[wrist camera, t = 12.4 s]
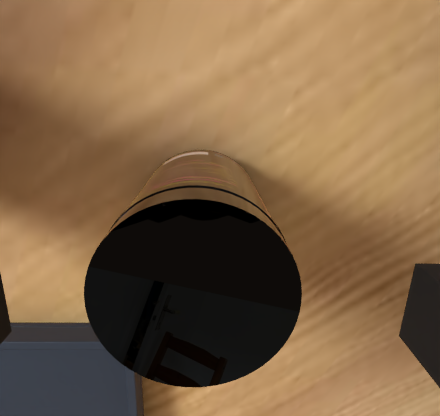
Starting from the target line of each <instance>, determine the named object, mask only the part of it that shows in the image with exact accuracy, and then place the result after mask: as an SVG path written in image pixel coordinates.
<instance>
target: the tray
mask: <svg viewBox="0 0 440 416" xmlns="http://www.w3.org/2000/svg"><path fill="white" fill-rule="evenodd" d="M10 325H11V330H12V332H11V333H10V334H9V335H8V336H7V337H6V339H5V340H4V341H3V342H2V343H1V344H0V416H144V409H143V392H142V376H141V375H139V374H137V373H135V372H133V371H132V370H130V369H128V368H127V367H125V366H124V365H122V364H121V363H120V362H119V361H117V360H116V359H115V358H114V357H113V356H112V355H111V354H110V353H109V352H108V351H107V350H106V349H105V347H104V346H103V345H102V344H101V342H100V341H99V339H98V338H97V336H96V335H95V333H94V331H93V329H92V327H91V324H90V323H10Z"/></svg>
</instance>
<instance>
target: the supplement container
mask: <svg viewBox="0 0 440 416" xmlns="http://www.w3.org/2000/svg"><path fill="white" fill-rule="evenodd" d="M301 297H302V290H301V280H300V275H299V271H298V268H297V265H296V262H295V260H294V258H293V255H292V254H291V252H290V250H289V248H288V246H287V244H286V241H285V239H284V237H283V235H282V233H281V231H280V230H279V228H278V226H277V225H276V223H275V222H274V221H273V219H272V218H271V216H270V214H269V212H268V210H267V209H266V207H265V205H264V203H263V201H262V199H261V197H260V195H259V193H258V192H257V190H256V188H255V186H254V184H253V182H252V180H251V178H250V177H249V175H248V174H247V172H246V171H245V170H244V169H243V168H242V167H241V166H240V165H239V164H238V163H237V162H236V161H234V160H233V159H231V158H229V157H228V156H226V155H223V154H221V153H218V152H214V151H210V150H191V151H186V152H183V153H180V154H177V155H175V156H173V157H171V158H170V159H168V160H167V161H165V162H164V163H163V164H162V165H160V166H159V167H158V169H157V170H156V171H155V172H154V174H153V175H152V176H151V178H150V179H149V180H148V182H147V183H146V184H145V186H144V187H143V188H142V190H141V191H140V192H139V194H138V195H137V196H136V198H135V199H134V201H133V202H132V203H131V205H130V206H129V207H128V209H127V210H125V211H124V212H123V213H122V215H121V216H120V217H119V218H118V219H117V220H116V222H115V223H114V224H113V226H112V227H111V229H110V230H109V232H108V234H107V235H106V237H105V238H104V239H103V241H102V242H101V243H100V245H99V246H98V248H97V249H96V251H95V253H94V255H93V257H92V259H91V261H90V264H89V267H88V270H87V274H86V278H85V286H84V299H85V307H86V312H87V316H88V319H89V322H90V324H91V327H92V329H93V331H94V333H95V335H96V336H97V338H98V339H99V341H100V342H101V344H102V345H103V346H104V347H105V349H106V350H107V351H108V352H109V353H110V354H111V355H112V356H113V357H114V358H115V359H116V360H117V361H119V362H120V363H121V364H122V365H124V366H125V367H127V368H128V369H130V370H132V371H133V372H135V373H137V374H139V375H141V376H143V377H145V378H148V379H150V380H153V381H156V382H160V383H163V384H168V385H173V386H181V387H207V386H213V385H219V384H223V383H227V382H230V381H233V380H236V379H239V378H241V377H244V376H246V375H248V374H250V373H251V372H253V371H255V370H257V369H258V368H260V367H261V366H263V365H264V364H265V363H266V362H268V361H269V360H270V359H271V358H272V357H273V356H274V355H276V354H277V352H278V351H279V350H280V349H281V348H282V347H283V345H284V344H285V343H286V341H287V340H288V338H289V336H290V335H291V333H292V331H293V329H294V327H295V324H296V322H297V319H298V316H299V312H300V307H301Z"/></svg>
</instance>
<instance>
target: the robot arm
mask: <svg viewBox="0 0 440 416" xmlns="http://www.w3.org/2000/svg"><path fill="white" fill-rule="evenodd" d="M11 332H12V330H11V325H10V320H9V314H8V309H7V304H6V299H5V294H4V289H3V284H2V279H1V274H0V344H1V343H2V342H3V341H4V340H5V339H6V337H7V336H8V335H9V334H10V333H11ZM399 336H400V338H401V339H402V340H403V342H404V343H405V344H406V345H407V347H408V348H409V349H410V350H411V352H412V353H413V354H414V356H415V357H416V358H417V359H418V361H419V362H420V363H421V365H422V366H423V367H424V368H425V370H426V371H427V372H428V373H429V375H430V376H431V377H432V379H433V380H434V381H435V382H436V384H437V385H438V386H439V388H440V264H415V268H414V272H413V277H412V281H411V285H410V290H409V294H408V298H407V303H406V307H405V312H404V316H403V320H402V325H401V329H400V334H399Z"/></svg>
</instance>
